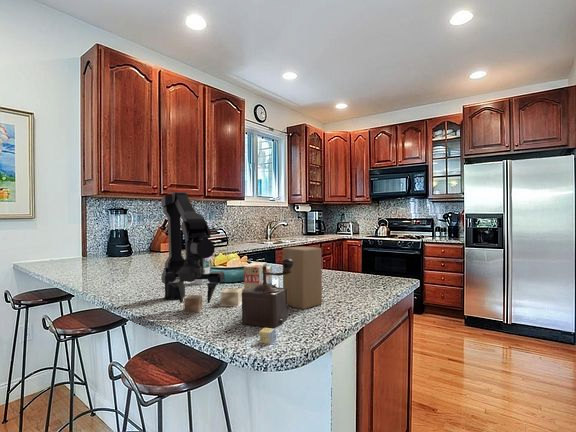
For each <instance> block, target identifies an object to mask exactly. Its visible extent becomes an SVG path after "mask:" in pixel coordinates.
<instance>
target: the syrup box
mask: <svg viewBox="0 0 576 432" xmlns="http://www.w3.org/2000/svg"><path fill="white" fill-rule="evenodd" d="M211 258H212V256H211V257H209V258H205V261H204V270H205V273H204V274H209V273H210V269H211V270H212V259H211ZM193 283H194V284H195V285H201V286H203V285H205V284H206V285H207V283H209V281H208V279H195V280H194V281H193Z"/></svg>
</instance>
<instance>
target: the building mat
mask: <svg viewBox="0 0 576 432" xmlns="http://www.w3.org/2000/svg"><path fill="white" fill-rule="evenodd" d="M241 306H242V302H241V303H240V304H239V305H221V304H220V305H219V307H241Z"/></svg>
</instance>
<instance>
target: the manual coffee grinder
mask: <svg viewBox="0 0 576 432" xmlns="http://www.w3.org/2000/svg"><path fill="white" fill-rule="evenodd" d="M281 266H282V271H281V272H267V271H266V268H267V267H266V266H263V267H262V269H263V271H262V273H263V283H262V284H260V285H258V286H256V287H255V288H253V289H250V290H247V291H245V292H244V291H242V304H241V324H242V325H243V326H247V327H248V326H249V327H255V328H262V329H263V328H272V329H276V328H277V327H279V326H280V325H282V324H283V323H284V322H285V321H287V319H288V305H287V288H283V287H277V283H275V284H273V283H272V284H271V283H269V284H267V282H266V275H272V276H277V277H278V276H279V277H280V276H283V275H284V274H285V275H287V274H288V273H291V268H292V266H293V260H291V259H287V258H286V259H284V260H283V259H282V260H281ZM283 268H284V270H283Z"/></svg>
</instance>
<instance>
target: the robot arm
mask: <svg viewBox="0 0 576 432" xmlns="http://www.w3.org/2000/svg"><path fill="white" fill-rule="evenodd" d="M160 204H161V207H162V212H163V214H164V215H165V217H166V218H167V233H168V235H167V236H168V238H167V239H168V256H167V259H166V261H164V262H165V263H164V268H163V269H162V270H163V271H162V274H161V276H160V277H161V283H163V284H164V297H163V298H162V299H163V300H179V303H183V302H184V298H185V297H186V286H185V283H184V282H189V283H194V280H195V279H208V281H209V283H207V284H206V285H207V294H206V296H207V297H206V300H207V303H206V304H210V302H211V299H212V297H213V294H214V292H215V289H216V287H217V285H218V284H220V283H221V282H223V281H224V280H225V277H226V276H225V272H224V271H222V270H218V271H217V270H216V271H215V270H211V273H209V274H204V273H205V270H204V261H205V258H209V257H211V258H212V256H213V255H214V254H215V249H216V248H215V247H216V246H215V245H214V242H212V241H211V240H209V239H211V238H212V237H211V234H212V232H211V229H210V227H209V225H208V222H207V220H206V218H204V216H203V215H202V214H200V213H198V212H196V211H195V208H194V206H193V205H192V202H191V201H190V199H189V194H188V193H187V192H185V191H184V192H183V191H179V192H178V191H175V192H172V193H170V194H166V195H164V196H163V197H162V199H161V203H160ZM181 219H182V220H181ZM181 232H182V233H181ZM182 234H183V236H184V238H185V239H184V241H185V258H184V256H183V255H182Z"/></svg>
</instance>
